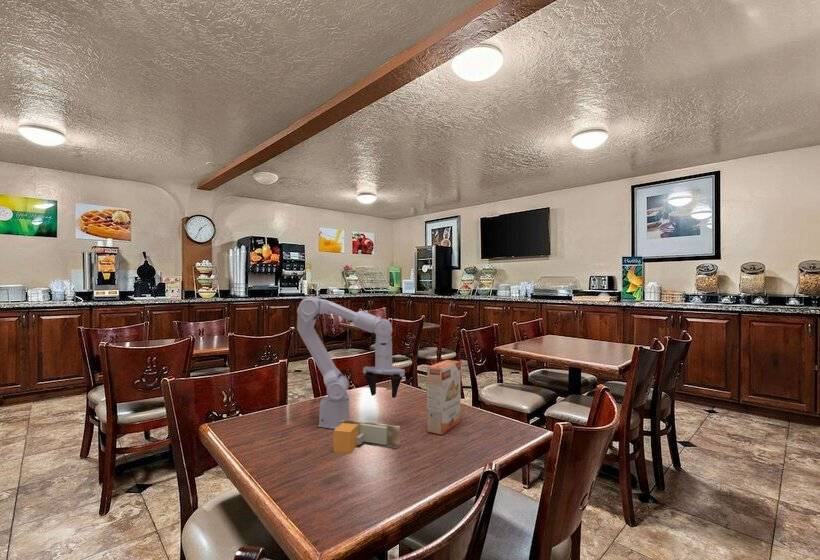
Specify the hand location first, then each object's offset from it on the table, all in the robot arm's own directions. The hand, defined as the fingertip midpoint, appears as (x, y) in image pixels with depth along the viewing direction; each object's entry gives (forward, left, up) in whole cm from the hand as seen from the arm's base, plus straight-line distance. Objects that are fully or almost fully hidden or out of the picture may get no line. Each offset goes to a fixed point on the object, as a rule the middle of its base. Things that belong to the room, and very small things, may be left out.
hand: (383, 395), depth 129 cm
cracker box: (+20, +4, -10) cm, 23 cm away
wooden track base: (+2, -15, -9) cm, 18 cm away
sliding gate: (+4, -17, -9) cm, 20 cm away
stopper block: (-2, -21, -10) cm, 23 cm away
